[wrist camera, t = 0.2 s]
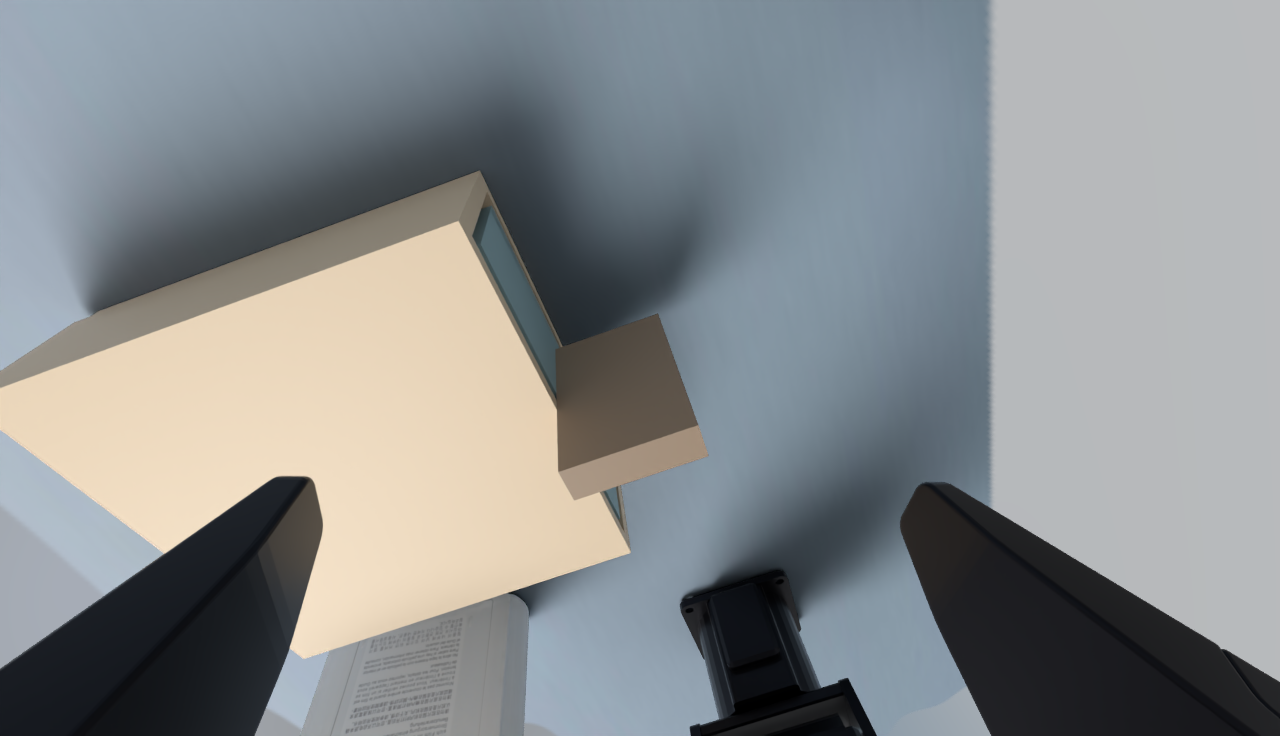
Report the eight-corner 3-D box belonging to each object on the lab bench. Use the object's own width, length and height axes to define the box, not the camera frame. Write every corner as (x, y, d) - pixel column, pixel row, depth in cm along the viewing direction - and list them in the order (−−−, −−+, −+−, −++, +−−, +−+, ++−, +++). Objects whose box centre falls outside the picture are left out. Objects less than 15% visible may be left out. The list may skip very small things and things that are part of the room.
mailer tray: (696, 428, 24) (745, 567, 18) (326, 552, 25) (256, 723, 19) (607, 163, 18) (637, 242, 12) (108, 345, 19) (-103, 505, 13)
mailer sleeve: (617, 461, 26) (631, 552, 21) (332, 557, 27) (290, 663, 22) (479, 170, 18) (458, 220, 14) (82, 317, 19) (-57, 409, 14)
